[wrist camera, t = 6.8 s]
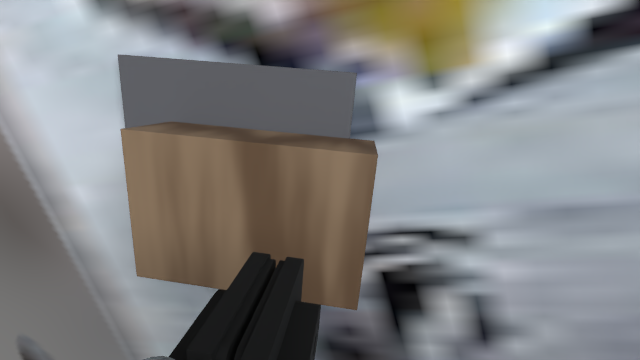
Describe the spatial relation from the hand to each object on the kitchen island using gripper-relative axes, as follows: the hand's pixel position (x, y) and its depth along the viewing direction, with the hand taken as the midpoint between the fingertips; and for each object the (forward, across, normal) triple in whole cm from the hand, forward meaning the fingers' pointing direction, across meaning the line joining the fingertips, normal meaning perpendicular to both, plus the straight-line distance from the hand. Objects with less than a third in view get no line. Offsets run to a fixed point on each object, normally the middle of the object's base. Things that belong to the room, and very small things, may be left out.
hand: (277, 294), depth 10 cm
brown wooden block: (+7, -3, 0) cm, 7 cm away
